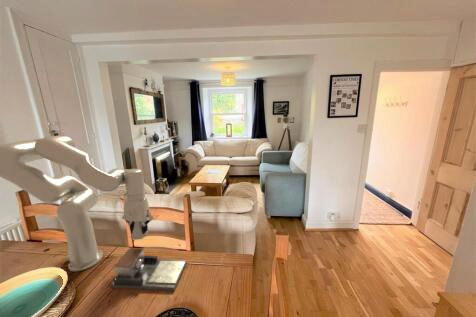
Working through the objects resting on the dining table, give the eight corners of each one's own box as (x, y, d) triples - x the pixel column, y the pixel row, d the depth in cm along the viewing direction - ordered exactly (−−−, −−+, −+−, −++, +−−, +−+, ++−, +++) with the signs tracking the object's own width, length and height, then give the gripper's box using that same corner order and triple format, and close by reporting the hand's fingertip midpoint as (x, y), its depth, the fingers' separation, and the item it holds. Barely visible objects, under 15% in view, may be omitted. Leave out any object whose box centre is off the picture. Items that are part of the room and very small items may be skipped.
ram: (116, 280, 76) (113, 265, 74) (132, 260, 85) (130, 248, 84) (135, 280, 75) (132, 266, 74) (148, 261, 85) (146, 248, 83)
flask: (151, 231, 94) (149, 213, 92) (142, 240, 87) (140, 220, 85) (137, 230, 95) (135, 212, 93) (127, 239, 88) (125, 219, 86)
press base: (111, 287, 74) (110, 280, 73) (133, 261, 88) (132, 254, 87) (174, 290, 72) (173, 283, 72) (186, 263, 86) (185, 256, 85)
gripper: (112, 198, 84) (116, 235, 88) (149, 200, 83) (152, 238, 87) (123, 192, 91) (127, 226, 95) (157, 193, 90) (160, 228, 94)
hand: (139, 231), depth 91 cm, fingers closed on flask, 4 cm apart
